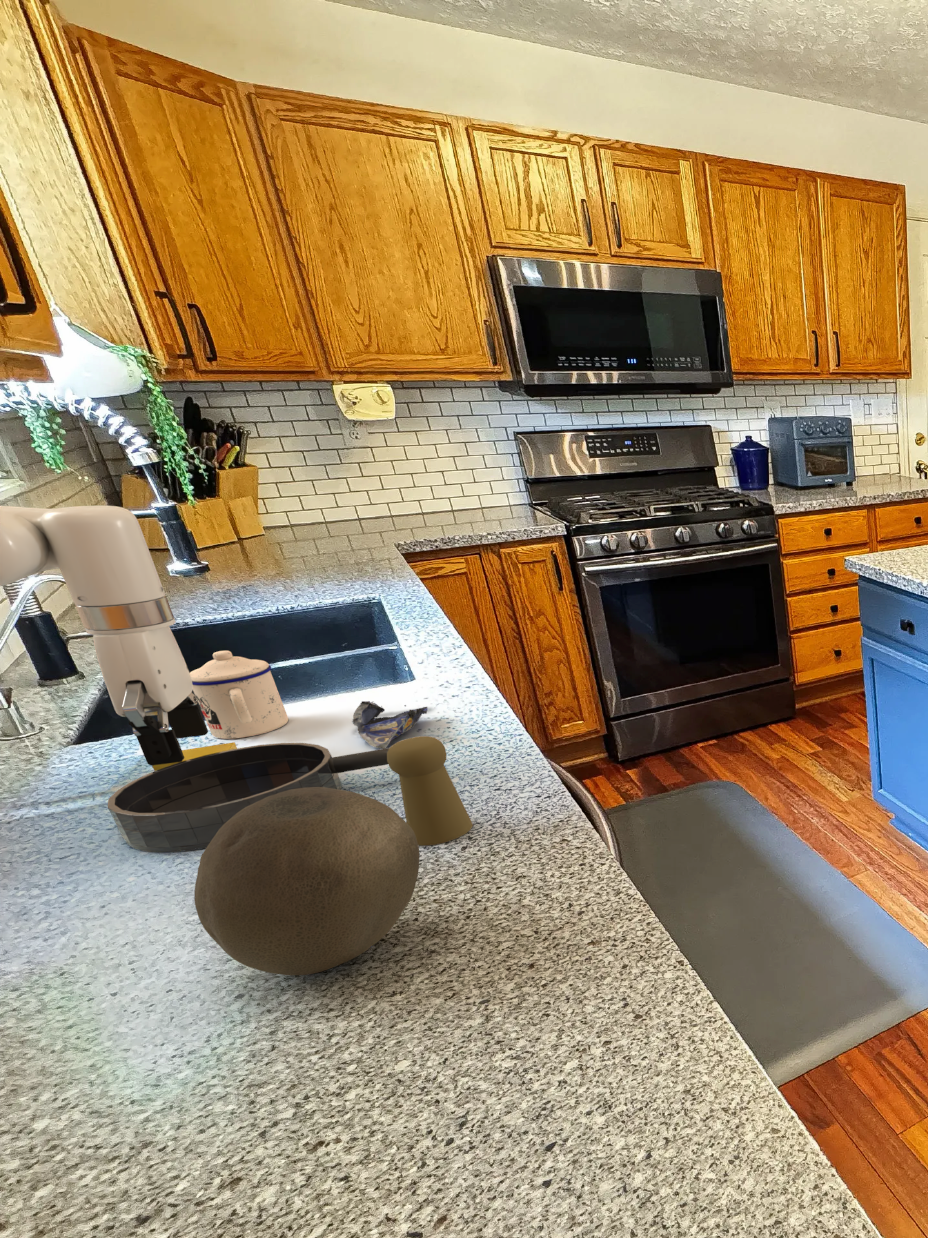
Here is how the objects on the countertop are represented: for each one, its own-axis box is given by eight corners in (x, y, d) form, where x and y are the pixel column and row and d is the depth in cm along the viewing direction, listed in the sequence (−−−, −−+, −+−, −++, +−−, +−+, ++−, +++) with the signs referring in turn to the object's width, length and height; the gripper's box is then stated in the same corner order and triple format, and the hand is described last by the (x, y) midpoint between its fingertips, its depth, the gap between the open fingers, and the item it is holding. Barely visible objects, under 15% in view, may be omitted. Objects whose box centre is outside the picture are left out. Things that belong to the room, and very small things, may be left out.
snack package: (318, 753, 110) (402, 750, 109) (307, 707, 108) (392, 704, 108) (384, 734, 121) (460, 731, 121) (375, 692, 120) (452, 689, 119)
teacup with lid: (209, 727, 118) (177, 651, 113) (288, 712, 124) (260, 639, 119) (211, 751, 110) (176, 670, 105) (295, 734, 116) (266, 656, 111)
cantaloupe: (311, 1028, 61) (237, 859, 55) (196, 986, 66) (116, 825, 60) (477, 923, 73) (431, 775, 67) (370, 894, 78) (318, 753, 72)
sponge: (161, 787, 100) (151, 765, 99) (173, 774, 104) (163, 752, 102) (234, 775, 103) (225, 753, 102) (243, 762, 107) (234, 741, 105)
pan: (95, 870, 82) (74, 832, 80) (159, 796, 98) (144, 762, 96) (327, 824, 91) (313, 789, 89) (353, 763, 106) (342, 732, 104)
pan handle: (327, 777, 96) (321, 762, 96) (329, 771, 98) (324, 756, 97) (444, 756, 102) (439, 742, 101) (445, 751, 103) (440, 737, 103)
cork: (464, 813, 93) (438, 725, 89) (479, 831, 89) (452, 740, 85) (403, 831, 89) (372, 740, 85) (415, 851, 85) (383, 757, 81)
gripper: (112, 603, 100) (163, 731, 106) (49, 635, 86) (112, 780, 92) (192, 598, 103) (237, 722, 110) (144, 628, 89) (198, 768, 96)
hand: (180, 748), depth 101 cm, fingers open, 9 cm apart
